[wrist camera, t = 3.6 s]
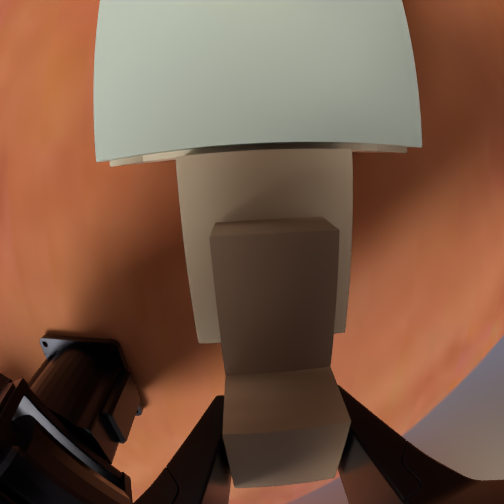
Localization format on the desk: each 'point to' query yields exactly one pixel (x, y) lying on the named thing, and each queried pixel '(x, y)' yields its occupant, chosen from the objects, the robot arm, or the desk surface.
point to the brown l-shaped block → (279, 349)
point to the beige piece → (260, 204)
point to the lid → (252, 75)
